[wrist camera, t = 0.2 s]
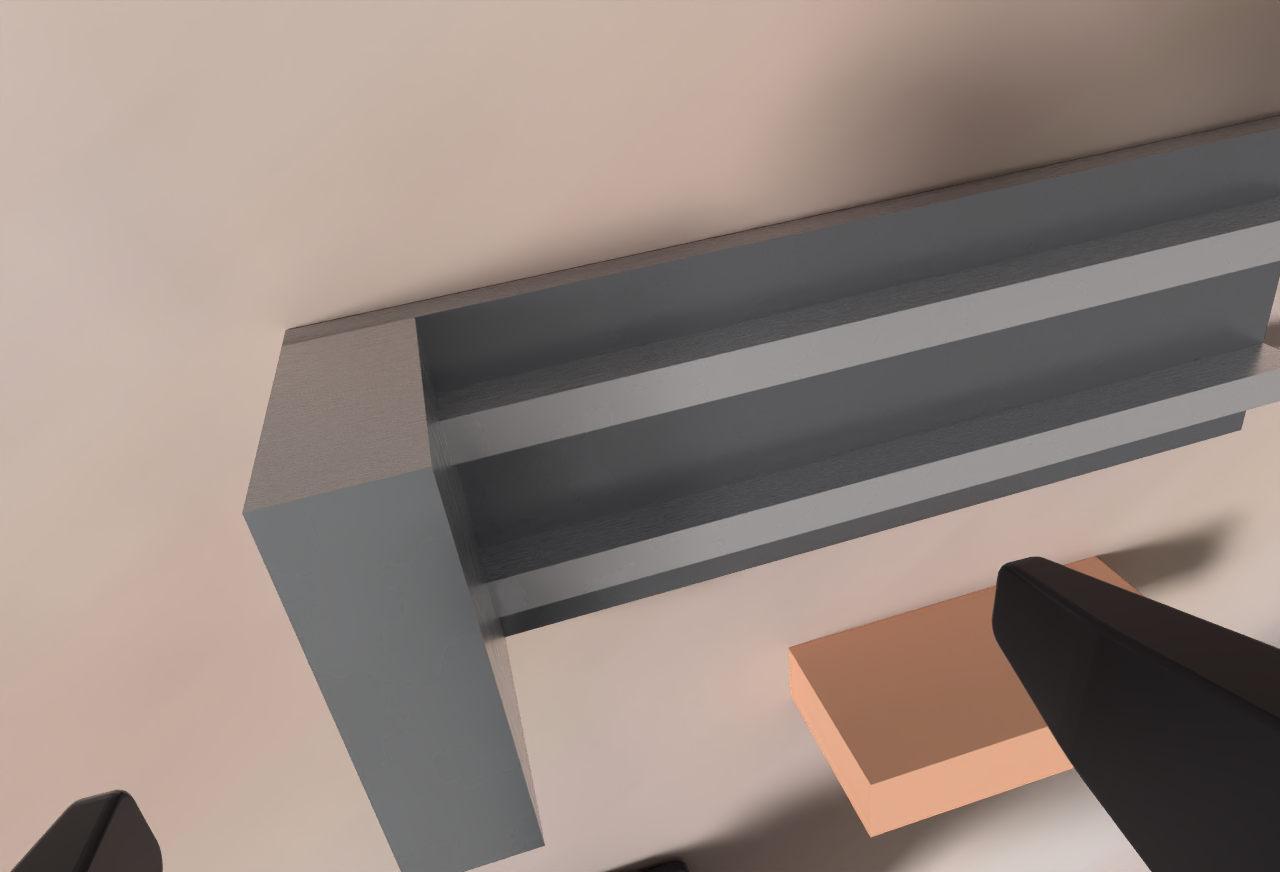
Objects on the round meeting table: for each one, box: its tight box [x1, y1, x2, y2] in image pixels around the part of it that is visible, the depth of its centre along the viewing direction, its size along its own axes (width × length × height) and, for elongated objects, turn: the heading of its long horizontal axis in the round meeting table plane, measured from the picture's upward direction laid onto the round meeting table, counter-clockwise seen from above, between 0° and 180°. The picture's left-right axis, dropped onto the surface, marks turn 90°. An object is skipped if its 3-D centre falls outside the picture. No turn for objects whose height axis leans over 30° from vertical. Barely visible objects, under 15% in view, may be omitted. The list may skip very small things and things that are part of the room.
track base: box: [243, 116, 1280, 872], centre depth 22 cm, size 10×28×8 cm, turn 98°
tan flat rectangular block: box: [788, 556, 1143, 837], centre depth 29 cm, size 2×12×6 cm, turn 98°
